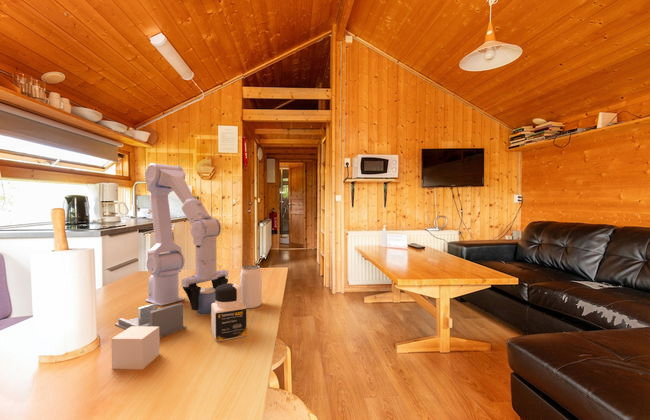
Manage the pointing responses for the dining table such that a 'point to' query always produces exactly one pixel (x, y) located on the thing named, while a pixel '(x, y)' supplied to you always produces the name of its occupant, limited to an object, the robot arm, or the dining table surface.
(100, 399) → the dining table surface
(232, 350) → the dining table surface
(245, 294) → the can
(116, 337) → the pale pink cube
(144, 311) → the plate
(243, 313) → the medicine bottle
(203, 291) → the jar
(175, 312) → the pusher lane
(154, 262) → the robot arm
